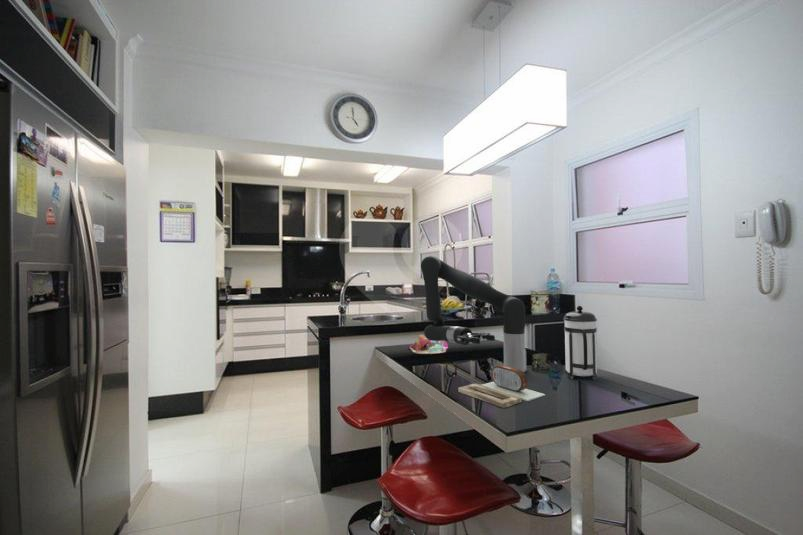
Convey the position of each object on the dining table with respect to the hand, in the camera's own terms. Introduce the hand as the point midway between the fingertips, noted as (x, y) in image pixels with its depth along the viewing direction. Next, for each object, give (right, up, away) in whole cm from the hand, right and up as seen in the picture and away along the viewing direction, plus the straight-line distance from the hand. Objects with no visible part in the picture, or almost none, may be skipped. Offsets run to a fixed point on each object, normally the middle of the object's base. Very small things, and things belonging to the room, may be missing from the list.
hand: (487, 339), depth 150 cm
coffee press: (+42, -17, +7) cm, 46 cm away
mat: (+7, -17, -9) cm, 21 cm away
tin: (+6, -17, -9) cm, 20 cm away
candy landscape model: (-18, -20, +70) cm, 75 cm away
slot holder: (-3, -18, -16) cm, 24 cm away
